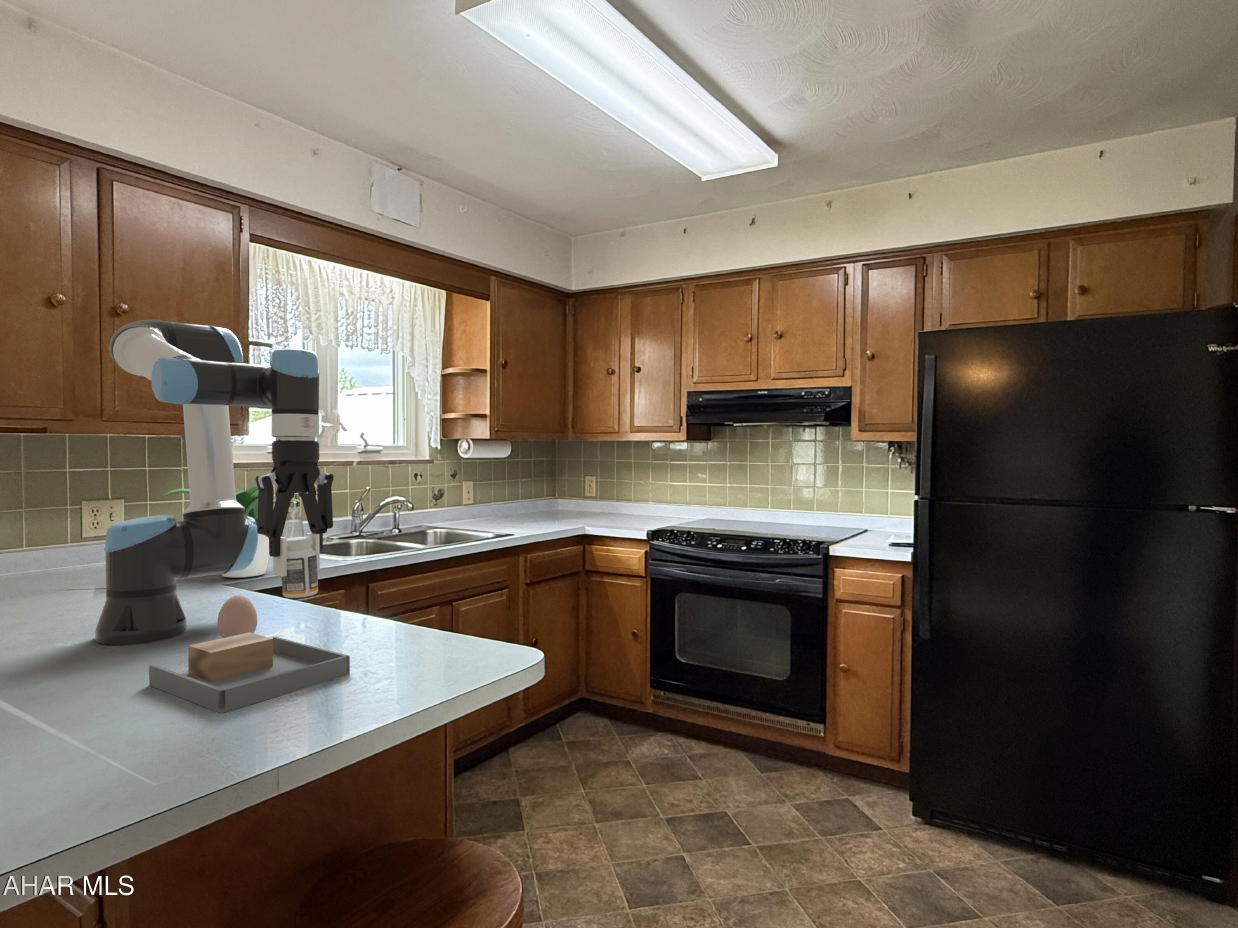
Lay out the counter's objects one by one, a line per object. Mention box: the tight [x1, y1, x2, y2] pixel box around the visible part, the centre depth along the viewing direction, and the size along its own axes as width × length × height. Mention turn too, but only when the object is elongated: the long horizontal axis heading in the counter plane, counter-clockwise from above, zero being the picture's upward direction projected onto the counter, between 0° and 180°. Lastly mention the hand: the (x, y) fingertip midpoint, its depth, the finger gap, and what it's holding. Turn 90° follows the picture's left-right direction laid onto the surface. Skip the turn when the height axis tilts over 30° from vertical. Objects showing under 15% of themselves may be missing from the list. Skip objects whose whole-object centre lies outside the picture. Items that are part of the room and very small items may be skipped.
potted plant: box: [160, 485, 301, 578], centre depth 207 cm, size 32×35×26 cm
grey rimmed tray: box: [148, 636, 351, 714], centre depth 115 cm, size 21×21×3 cm
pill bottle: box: [281, 536, 319, 599], centre depth 126 cm, size 6×6×10 cm
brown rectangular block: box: [187, 632, 273, 682], centre depth 118 cm, size 7×10×4 cm
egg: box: [216, 594, 258, 638], centre depth 136 cm, size 7×7×9 cm
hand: (296, 572), depth 126 cm, fingers closed on pill bottle, 6 cm apart
